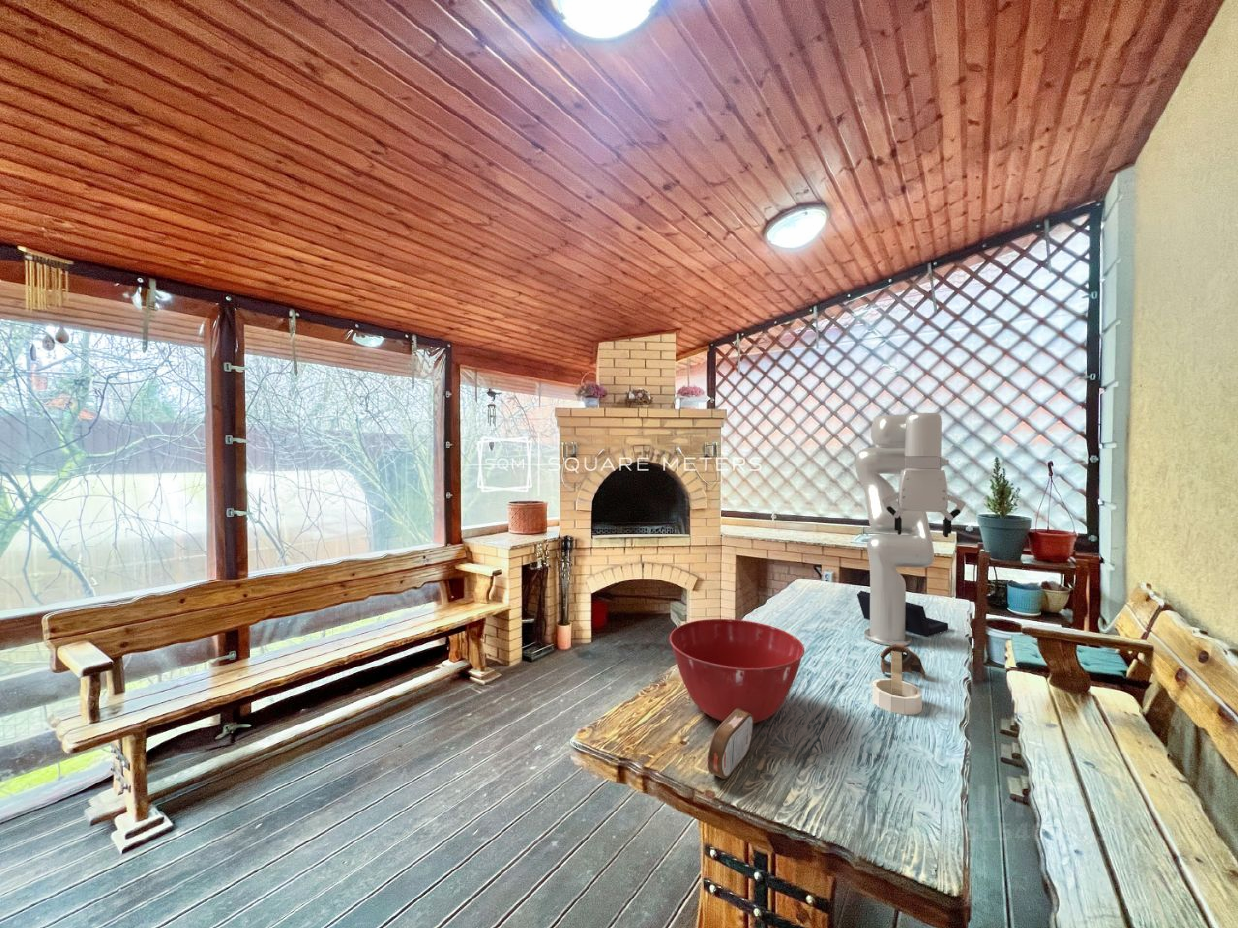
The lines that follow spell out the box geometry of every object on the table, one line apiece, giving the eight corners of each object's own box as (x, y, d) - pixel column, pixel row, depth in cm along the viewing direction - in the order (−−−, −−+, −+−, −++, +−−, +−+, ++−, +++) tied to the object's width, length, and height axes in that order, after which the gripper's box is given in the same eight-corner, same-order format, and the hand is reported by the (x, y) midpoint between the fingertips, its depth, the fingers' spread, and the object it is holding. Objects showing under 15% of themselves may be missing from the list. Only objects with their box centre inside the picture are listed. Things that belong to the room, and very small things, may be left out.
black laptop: (948, 631, 161) (948, 599, 161) (918, 640, 153) (918, 607, 153) (885, 613, 179) (885, 585, 179) (856, 621, 171) (856, 591, 171)
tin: (740, 742, 98) (740, 699, 98) (756, 748, 97) (756, 704, 96) (705, 783, 86) (705, 734, 86) (722, 790, 84) (723, 740, 84)
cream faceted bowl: (871, 690, 120) (872, 675, 120) (919, 698, 116) (919, 683, 116) (872, 708, 111) (872, 692, 111) (923, 718, 107) (923, 701, 107)
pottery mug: (935, 686, 122) (921, 658, 121) (896, 698, 125) (882, 671, 123) (914, 656, 134) (902, 630, 133) (879, 668, 136) (866, 643, 135)
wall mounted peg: (885, 697, 115) (884, 650, 119) (907, 701, 113) (906, 653, 117) (886, 698, 112) (885, 649, 115) (909, 702, 110) (908, 652, 113)
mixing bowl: (827, 709, 111) (827, 639, 111) (758, 765, 91) (759, 680, 91) (718, 670, 131) (718, 610, 131) (643, 709, 111) (643, 639, 111)
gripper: (963, 464, 122) (962, 535, 123) (882, 463, 130) (881, 530, 130) (968, 465, 115) (967, 540, 116) (883, 464, 123) (882, 535, 123)
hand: (922, 535), depth 123 cm, fingers open, 9 cm apart
